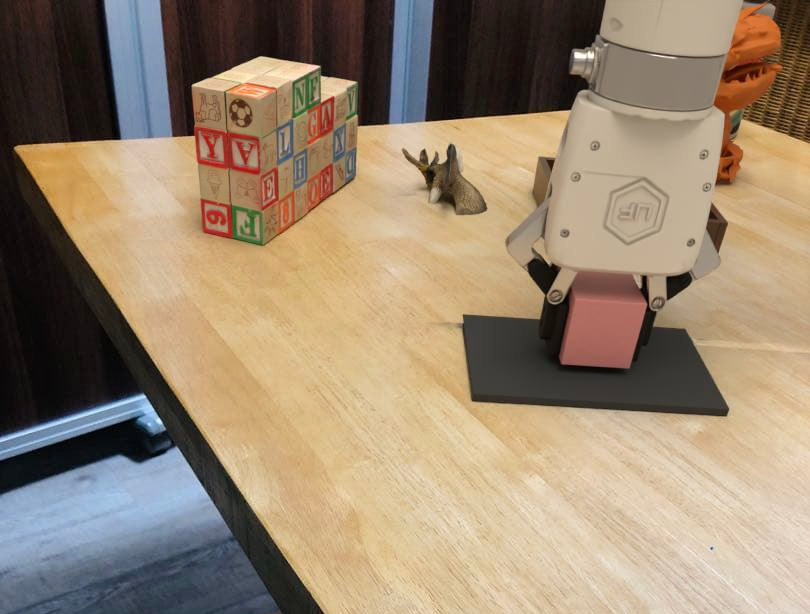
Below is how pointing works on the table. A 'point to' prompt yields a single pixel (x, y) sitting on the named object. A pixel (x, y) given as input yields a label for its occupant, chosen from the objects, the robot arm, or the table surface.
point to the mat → (586, 371)
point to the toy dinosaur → (745, 77)
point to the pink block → (602, 320)
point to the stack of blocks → (271, 145)
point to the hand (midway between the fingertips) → (589, 347)
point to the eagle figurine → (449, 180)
